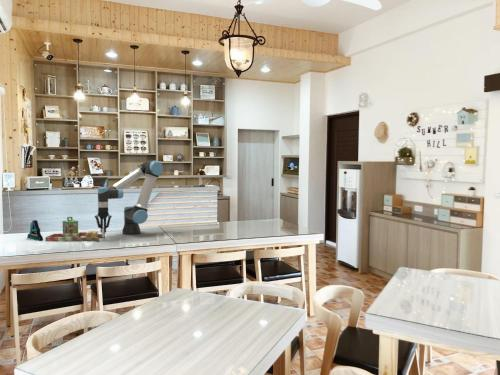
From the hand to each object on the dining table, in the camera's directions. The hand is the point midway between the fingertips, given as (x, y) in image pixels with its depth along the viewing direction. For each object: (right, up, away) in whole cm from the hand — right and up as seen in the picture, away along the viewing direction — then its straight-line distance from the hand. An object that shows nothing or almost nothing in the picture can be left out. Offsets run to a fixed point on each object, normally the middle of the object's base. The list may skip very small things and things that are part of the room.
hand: (103, 236), depth 329 cm
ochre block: (-9, -3, 0) cm, 10 cm away
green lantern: (-34, -1, +18) cm, 38 cm away
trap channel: (-22, -2, +3) cm, 22 cm away
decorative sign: (-53, -2, -1) cm, 53 cm away
